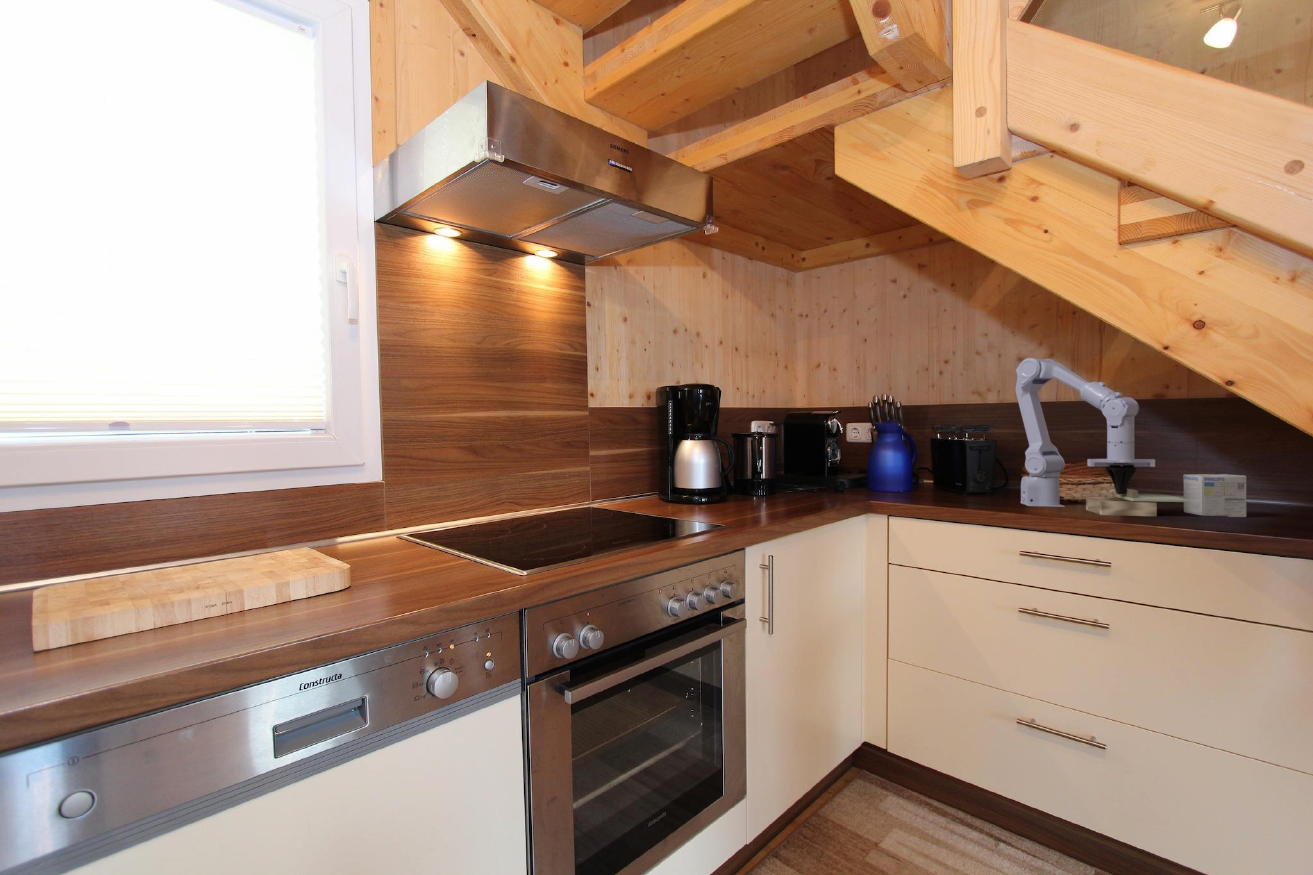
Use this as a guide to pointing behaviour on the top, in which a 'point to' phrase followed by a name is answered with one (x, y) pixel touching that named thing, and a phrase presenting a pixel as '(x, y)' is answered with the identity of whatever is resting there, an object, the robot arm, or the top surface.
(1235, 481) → the light bulb box
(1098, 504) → the pine box
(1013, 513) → the top surface
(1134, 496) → the lid
